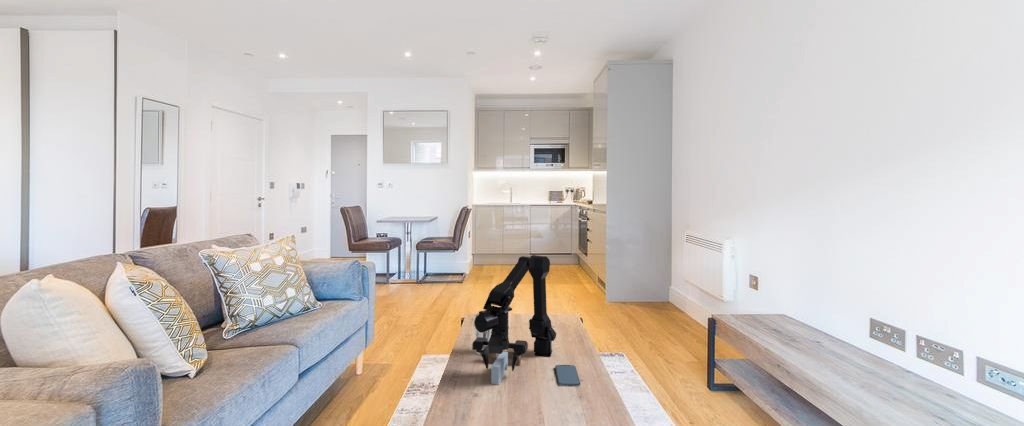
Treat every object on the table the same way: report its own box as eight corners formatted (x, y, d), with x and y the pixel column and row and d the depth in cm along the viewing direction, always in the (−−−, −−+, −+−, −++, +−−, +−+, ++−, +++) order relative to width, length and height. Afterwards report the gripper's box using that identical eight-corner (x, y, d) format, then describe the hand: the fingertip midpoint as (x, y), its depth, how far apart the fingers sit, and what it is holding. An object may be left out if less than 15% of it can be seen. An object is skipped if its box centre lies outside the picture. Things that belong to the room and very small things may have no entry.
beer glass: (489, 356, 167) (489, 318, 166) (472, 354, 168) (472, 317, 168) (493, 349, 174) (493, 313, 173) (477, 348, 175) (477, 312, 175)
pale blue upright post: (507, 368, 155) (507, 352, 155) (498, 384, 141) (498, 367, 141) (501, 367, 156) (501, 351, 155) (491, 384, 142) (491, 366, 142)
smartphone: (558, 383, 141) (554, 364, 156) (558, 388, 141) (554, 368, 156) (581, 384, 140) (575, 364, 155) (581, 389, 141) (575, 369, 156)
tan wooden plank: (520, 363, 160) (520, 350, 160) (519, 365, 158) (519, 352, 157) (484, 360, 163) (484, 347, 163) (483, 362, 160) (483, 349, 160)
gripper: (467, 330, 142) (467, 376, 143) (522, 334, 138) (521, 381, 139) (477, 321, 153) (476, 363, 153) (528, 324, 149) (527, 368, 150)
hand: (500, 369), depth 149 cm, fingers open, 9 cm apart
